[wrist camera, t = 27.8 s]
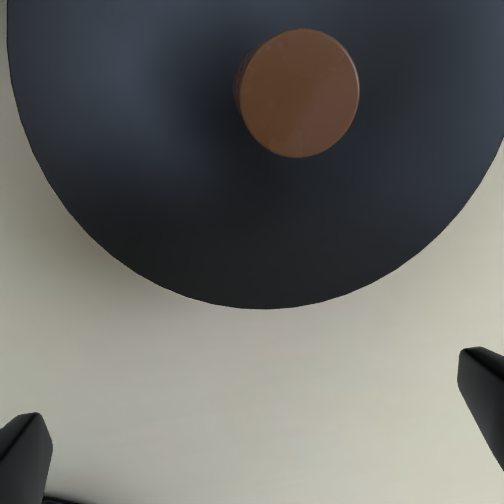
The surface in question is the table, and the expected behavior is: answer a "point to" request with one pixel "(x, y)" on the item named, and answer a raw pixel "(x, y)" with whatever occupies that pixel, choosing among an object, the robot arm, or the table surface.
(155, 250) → the lid
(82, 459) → the table surface
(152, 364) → the table surface
